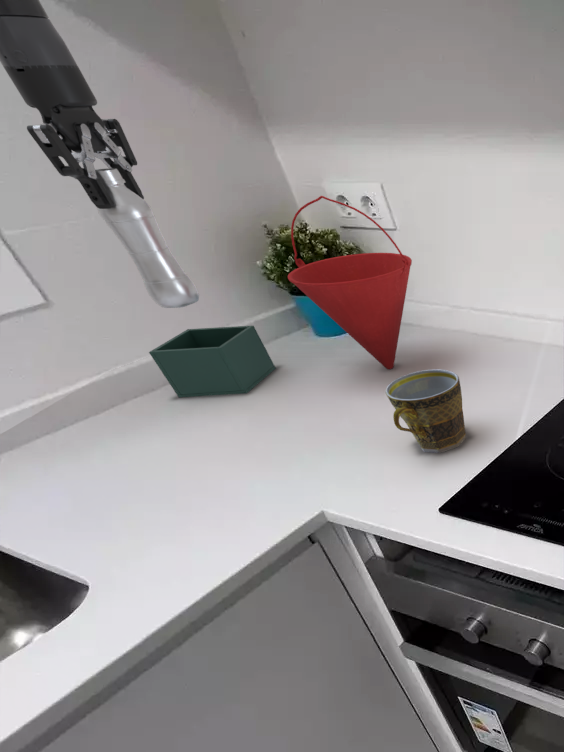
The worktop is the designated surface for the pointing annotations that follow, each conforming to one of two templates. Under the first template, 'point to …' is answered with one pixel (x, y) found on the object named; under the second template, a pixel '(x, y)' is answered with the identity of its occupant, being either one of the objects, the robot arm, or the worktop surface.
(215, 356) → the bin
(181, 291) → the plastic bottle
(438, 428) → the ceramic cup
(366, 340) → the fire bucket
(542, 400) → the worktop surface
